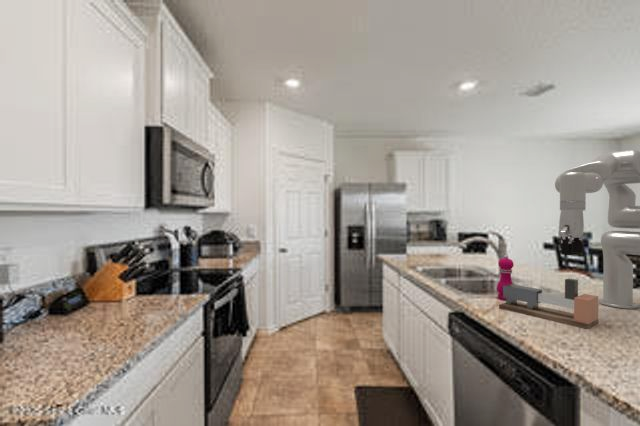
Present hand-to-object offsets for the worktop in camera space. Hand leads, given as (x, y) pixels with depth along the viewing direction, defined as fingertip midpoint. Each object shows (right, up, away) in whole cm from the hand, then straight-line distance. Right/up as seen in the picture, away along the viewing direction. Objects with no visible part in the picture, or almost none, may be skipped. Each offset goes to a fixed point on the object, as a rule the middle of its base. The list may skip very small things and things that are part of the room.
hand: (572, 253), depth 123 cm
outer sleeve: (-10, -23, +13) cm, 28 cm away
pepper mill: (-7, -24, +30) cm, 40 cm away
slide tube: (-3, -19, +3) cm, 20 cm away
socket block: (+2, -23, -4) cm, 23 cm away
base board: (-5, -24, +6) cm, 26 cm away
